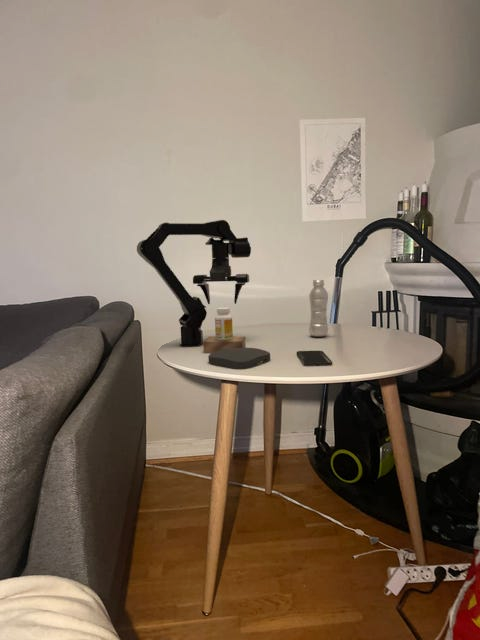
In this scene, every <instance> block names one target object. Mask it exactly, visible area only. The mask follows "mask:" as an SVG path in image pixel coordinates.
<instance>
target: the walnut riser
mask: <svg viewBox="0 0 480 640" xmlns="http://www.w3.org/2000/svg"><path fill="white" fill-rule="evenodd" d="M202 344H203V353H204V354H211V353H213V352H216V351H219V350H222V349H229V348H247V347H246V345H247V344H246V336H245V335H244V336H241V335H239V336H238V335H237V336H233V338H232V339H230V340H217V339H216V336H207V337H206V338H205V339H203V342H202Z"/></svg>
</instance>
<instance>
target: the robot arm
mask: <svg viewBox="0 0 480 640" xmlns="http://www.w3.org/2000/svg"><path fill="white" fill-rule="evenodd" d="M169 236H203V237H208V238H209V239H208V240H207V241H206V242H205V244H204V245H205V246H211V268H210V269H209V276H208V275H207V274H197V275H193V277H192V284H193V285H195V284H196V287H200V288H201V291H202V292H203V294H204V297H205V299H206V302H207V305H210V304H211V295H210V285H209V283H210V282H212V283H213V282H236V283H235V284H234V302H233V303H234V305H236V304H237V302H238V298H239V295H240V292H241V289H242V287H243V286H246V284H247V283H249V282H250V275H249V274H248V273H236V274H235V275H232V268H231V267H232V266H231V265H230V256H231V258H236V259H237V258H238V259H239V258H249V257H250V256H251V253H252V252H251V251H252V247H251V243H250V241H249V238H248V237H239V238H238V237H236V235H235V234H234V233H233V231H232V229H231V226H230V224H229V223H228V221H227V220H225V219H219V220H213V221H209V222H208V221H207V222H202V223H199V222H198V223H193V222H192V223H189V222H187V223H185V222H184V223H183V222H182V223H178V222H177V223H175V222H174V223H173V222H172V223H170V222H163V223H160V224H159V225H158V226H157V228H156V229H155V230H154V231H153V232H152V233H151V234H150V235H149V236H147V238H145V239H142V240H141V241H139V242H138V244H136V252H137V254H138V256H140V257H141V259H142V260H143V261H145V262H146V263H147V264H148V265H150V266H151V267H153V269H154V270H155V271H156V272H157V274H158V275H159V276H160V278H161V279H162V280H163V282H164V283H165V284H166V286H167V287H168V289H169V290H170V291H171V292H172V294H173V295H174V297H175V298H176V299H177V300H178V303H179V304H180V306H181V309H182V311H183V315H181V317H180V318H179V319H178V322H179V325H180V342H181V343H180V344H179V346H180V347H199V346H200V345H202V344H203V341H204V339H203V338H204V337H203V330H202V326H203V322H204V321H205V319H206V318H207V314H208V313H207V310H206V308H207V306H206V305H204V304H203V302H202V300H201V298H200V297H198V296H191V295H190V293H189V292H188V290H187V289H186V288H185V287H184V285H183V284H182V282H181V281H180V279H179V278H178V277H177V276H176V274H175V273H174V271H173V270H172V269H171V267H170V266H169V265H168V263H167V262H166V260H165V258H164V257H165V256H164V255H163V252H162V250H161V248H160V247H161V246H162V245H163V244H164V242H165V241H166V239H167V238H168V237H169ZM208 282H209V283H208Z"/></svg>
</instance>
